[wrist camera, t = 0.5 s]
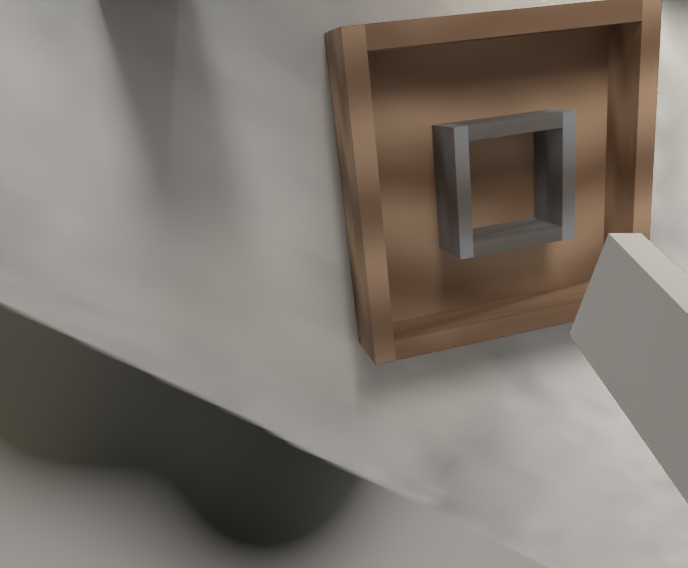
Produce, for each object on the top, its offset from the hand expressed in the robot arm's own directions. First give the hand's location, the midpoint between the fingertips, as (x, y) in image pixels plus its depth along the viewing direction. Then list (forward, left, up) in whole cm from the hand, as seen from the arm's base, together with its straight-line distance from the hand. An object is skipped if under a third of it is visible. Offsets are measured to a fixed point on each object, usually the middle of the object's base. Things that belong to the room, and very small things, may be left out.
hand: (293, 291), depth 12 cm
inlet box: (+3, +16, -23) cm, 28 cm away
